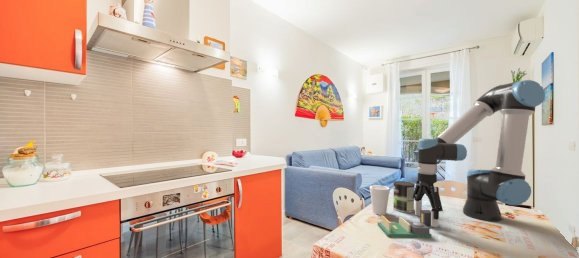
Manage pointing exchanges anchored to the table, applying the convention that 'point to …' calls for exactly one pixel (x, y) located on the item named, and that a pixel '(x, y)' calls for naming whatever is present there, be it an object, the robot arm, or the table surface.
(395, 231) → the board
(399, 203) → the coffee can
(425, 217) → the plug
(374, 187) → the foam cup
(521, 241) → the table surface
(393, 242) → the table surface
